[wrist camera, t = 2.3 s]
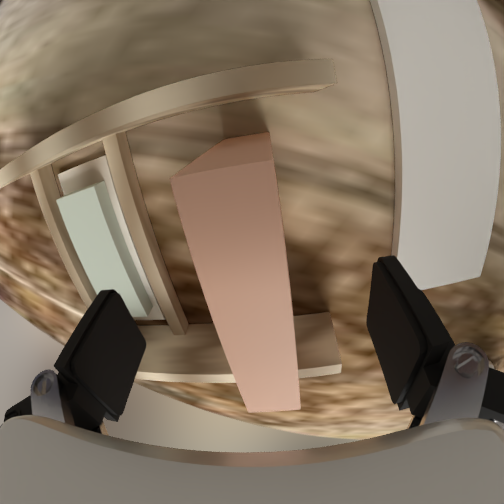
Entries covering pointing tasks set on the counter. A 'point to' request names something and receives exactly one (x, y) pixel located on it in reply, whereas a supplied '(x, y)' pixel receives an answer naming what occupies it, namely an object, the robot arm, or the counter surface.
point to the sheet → (243, 265)
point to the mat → (441, 136)
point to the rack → (129, 193)
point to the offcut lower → (101, 172)
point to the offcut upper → (103, 246)
